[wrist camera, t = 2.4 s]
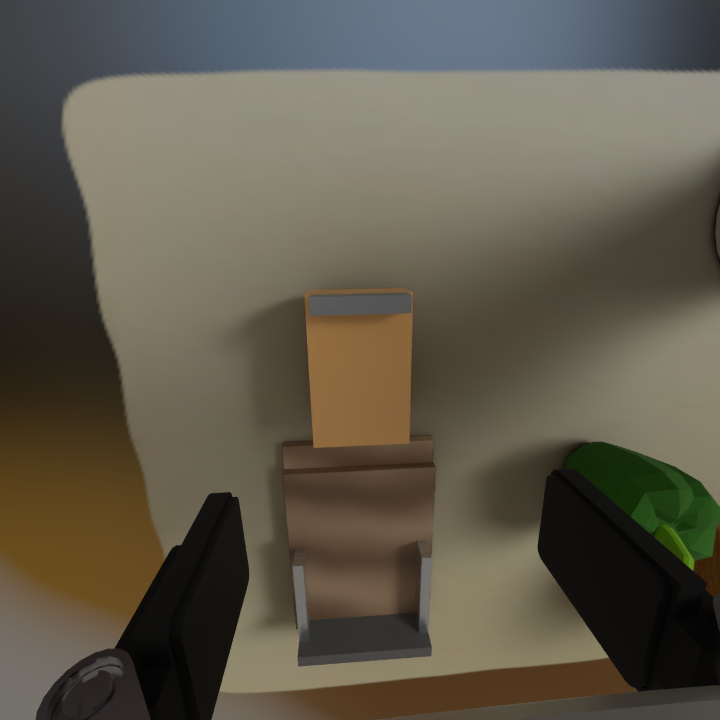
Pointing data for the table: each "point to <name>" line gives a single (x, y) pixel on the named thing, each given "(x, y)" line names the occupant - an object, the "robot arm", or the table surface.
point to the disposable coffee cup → (711, 567)
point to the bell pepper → (653, 497)
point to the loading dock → (360, 549)
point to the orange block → (359, 365)
